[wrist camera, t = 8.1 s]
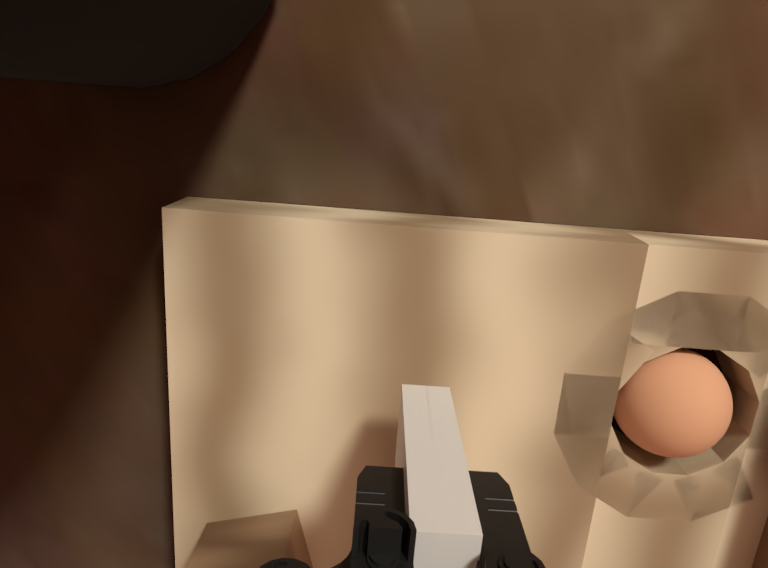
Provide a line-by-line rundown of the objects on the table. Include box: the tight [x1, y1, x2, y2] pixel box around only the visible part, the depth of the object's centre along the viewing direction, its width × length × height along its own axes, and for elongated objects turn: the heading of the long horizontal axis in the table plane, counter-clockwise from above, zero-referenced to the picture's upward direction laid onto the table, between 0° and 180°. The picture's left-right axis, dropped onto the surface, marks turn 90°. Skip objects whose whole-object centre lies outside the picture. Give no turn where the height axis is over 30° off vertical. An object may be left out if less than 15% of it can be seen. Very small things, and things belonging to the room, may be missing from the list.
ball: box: [614, 347, 733, 458], centre depth 21 cm, size 4×4×4 cm
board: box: [162, 197, 768, 568], centre depth 21 cm, size 25×16×6 cm, turn 86°
